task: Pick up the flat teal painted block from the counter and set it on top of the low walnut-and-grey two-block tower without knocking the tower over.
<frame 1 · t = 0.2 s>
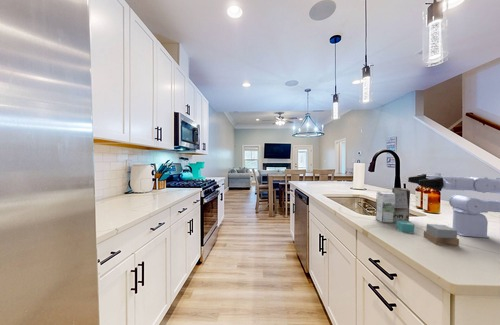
hand: (413, 181, 88), 21 cm above the worktop, tool horizontal, fingers open, 7 cm apart
syrup box: (384, 221, 100), on the worktop
grey top block: (440, 234, 76), point 3 cm above the worktop, touching walnut base block
coffee box: (399, 221, 100), on the worktop
walnut base block: (440, 242, 76), on the worktop, touching grey top block
teal block: (404, 230, 87), on the worktop
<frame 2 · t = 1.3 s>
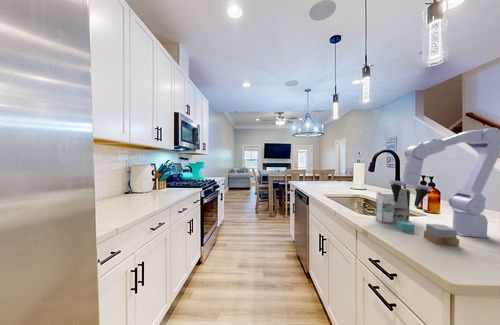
hand: (405, 203, 87), 12 cm above the worktop, tool pointing down, fingers open, 7 cm apart
nothing on the worktop moved.
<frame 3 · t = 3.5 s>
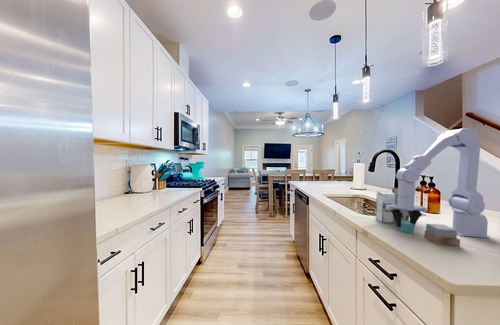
hand: (405, 227, 87), 1 cm above the worktop, tool pointing down, fingers closed on teal block, 4 cm apart
teal block: (404, 230, 87), on the worktop, touching gripper
everything else where it was.
when the fingers open (8 cm above the worktop, at t = 7.4 s): teal block drops 1 cm, point 6 cm above the worktop.
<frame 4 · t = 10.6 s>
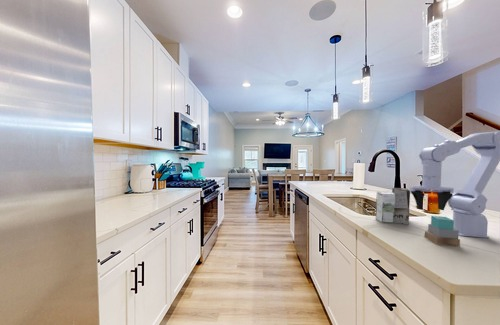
hand: (430, 209, 83), 10 cm above the worktop, tool pointing down, fingers open, 7 cm apart
teal block: (441, 227, 76), point 6 cm above the worktop
everything else where it was.
at the end: teal block 0.2 cm off-centre on the walnut base block, point 6.0 cm above the walnut base block's base; grey top block 0.4 cm off-centre on the walnut base block, point 3.0 cm above the walnut base block's base; walnut base block moved 0.5 cm from its start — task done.
